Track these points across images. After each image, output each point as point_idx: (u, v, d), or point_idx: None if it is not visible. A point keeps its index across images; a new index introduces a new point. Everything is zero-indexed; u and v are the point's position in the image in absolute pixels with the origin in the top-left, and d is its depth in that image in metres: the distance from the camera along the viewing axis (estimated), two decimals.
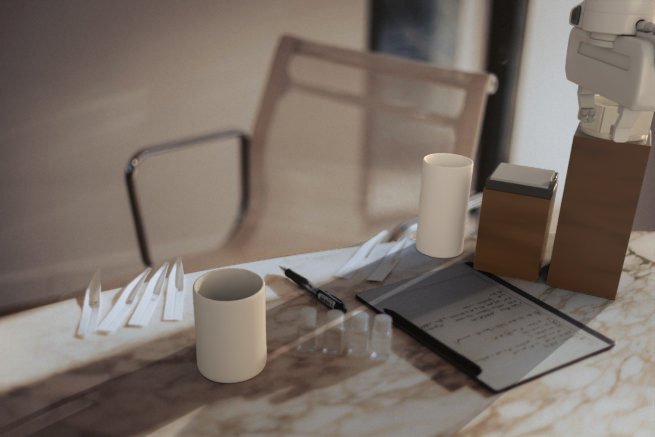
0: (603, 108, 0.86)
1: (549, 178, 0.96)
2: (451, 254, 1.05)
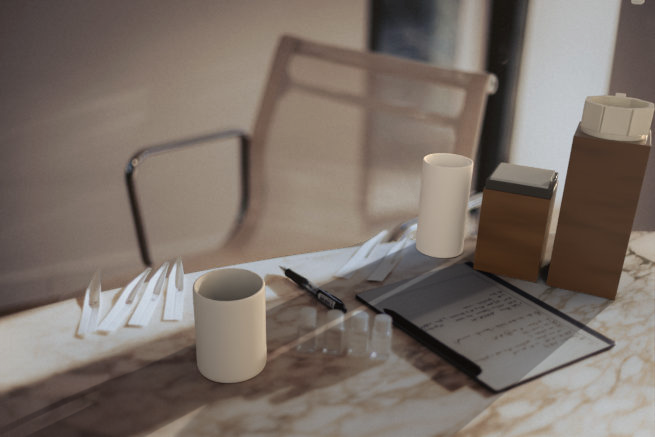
0: (603, 108, 0.86)
1: (549, 178, 0.96)
2: (451, 254, 1.05)
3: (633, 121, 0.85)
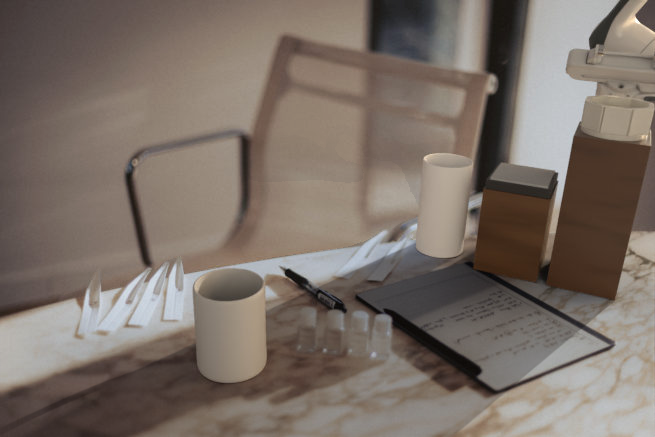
0: (603, 108, 0.86)
1: (549, 178, 0.96)
2: (451, 254, 1.05)
3: (633, 121, 0.85)
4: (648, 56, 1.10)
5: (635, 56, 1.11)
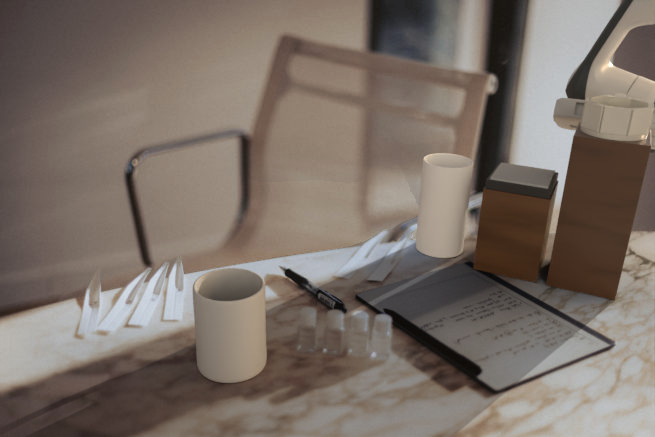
0: (603, 108, 0.86)
1: (549, 178, 0.96)
2: (451, 254, 1.05)
3: (633, 121, 0.85)
4: None
5: None
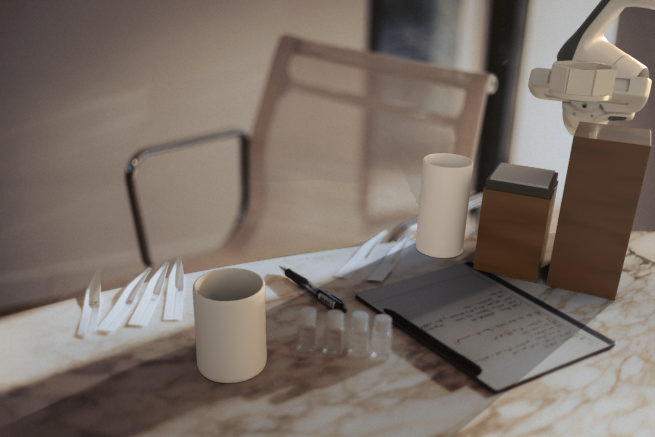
0: (568, 70, 0.91)
1: (549, 178, 0.96)
2: (451, 254, 1.05)
3: (597, 82, 0.90)
4: None
5: None
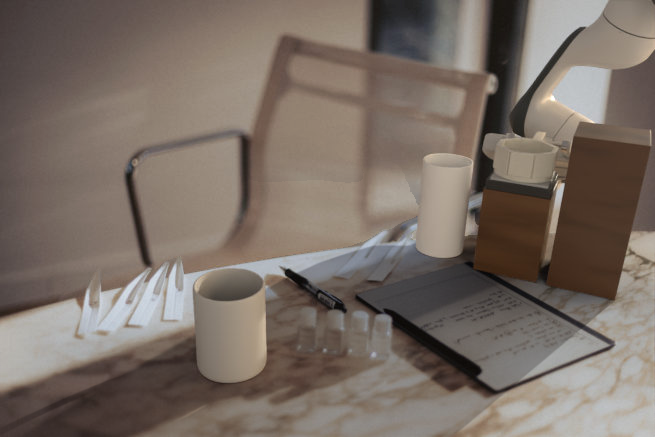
0: (509, 153, 0.93)
1: None
2: (451, 254, 1.05)
3: (536, 165, 0.93)
4: (559, 144, 1.11)
5: None
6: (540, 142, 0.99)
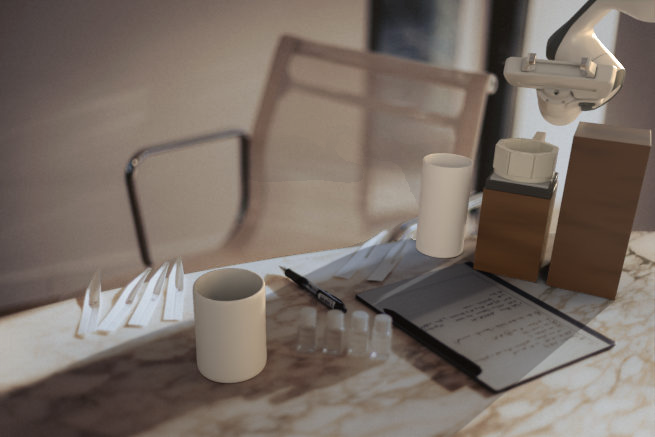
0: (509, 153, 0.93)
1: None
2: (451, 254, 1.05)
3: (536, 165, 0.93)
4: (578, 64, 1.16)
5: (566, 64, 1.17)
6: (540, 142, 0.99)
